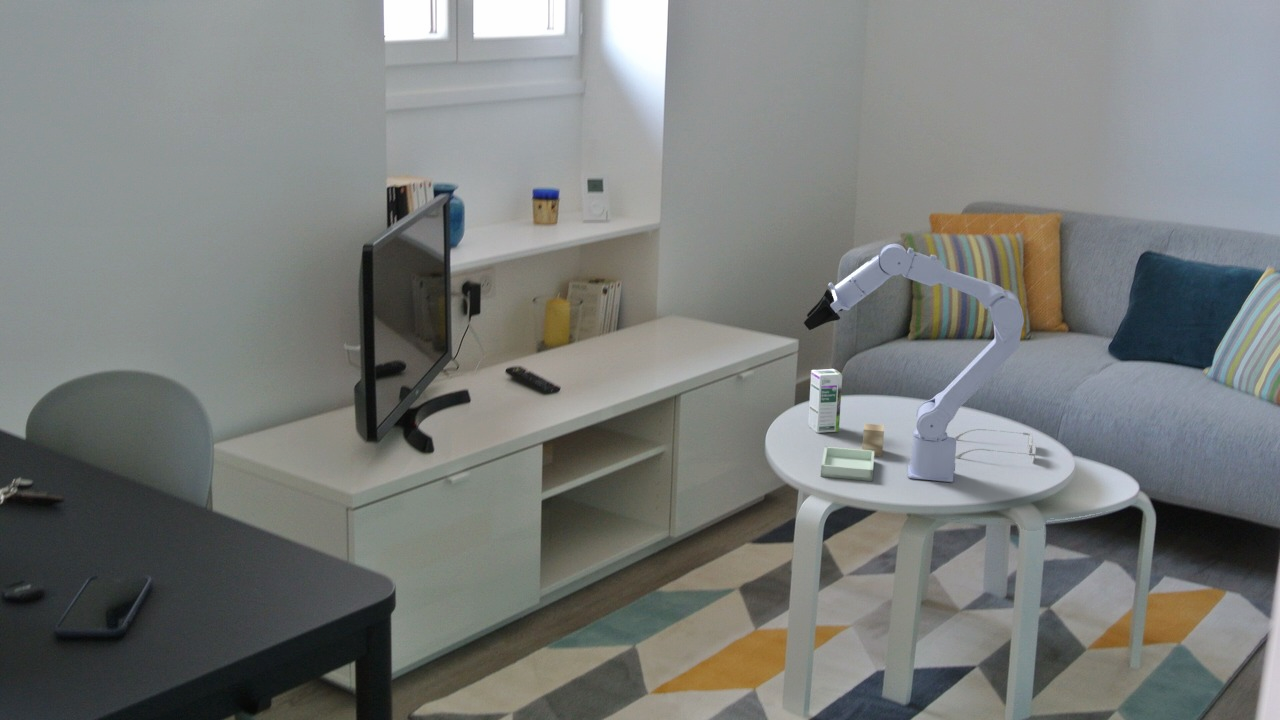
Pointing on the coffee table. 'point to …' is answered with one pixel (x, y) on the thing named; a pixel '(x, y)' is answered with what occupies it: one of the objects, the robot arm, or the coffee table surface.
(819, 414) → the syrup box
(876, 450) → the maple block
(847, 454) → the serving tray
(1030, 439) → the eyeglasses
